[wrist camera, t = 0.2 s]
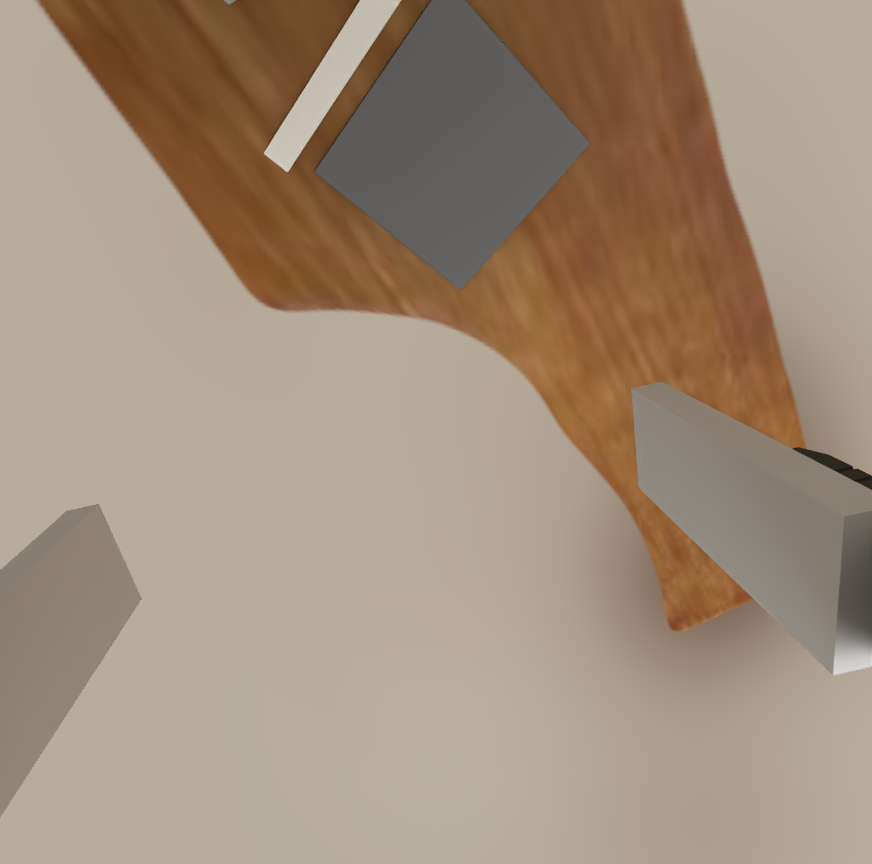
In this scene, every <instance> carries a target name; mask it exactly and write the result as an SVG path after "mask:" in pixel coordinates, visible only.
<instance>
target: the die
mask: <svg viewBox="0 0 872 864" xmlns="http://www.w3.org/2000/svg"><path fill="white" fill-rule="evenodd" d="M223 1H225V2H226V3H227V4H231V3H232V2H234V1H236V0H223Z"/></svg>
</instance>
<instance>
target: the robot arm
mask: <svg viewBox="0 0 872 864" xmlns="http://www.w3.org/2000/svg"><path fill="white" fill-rule="evenodd" d="M632 401H633V415H634V429H635V442H636V456H637V470H638V483H639V489H640V490H641V491H642V492H643V493H644V494H646V495H647V496H648V497H649V498H650V499H651V500H652V501H653V502H654V503H655V504H656V505H657V506H658V507H659V508H660V509H661V510H662V511H663V512H664V513H665V514H666V515H667V516H668V517H669V518H670V519H671V520H672V521H673V522H675V523H676V524H677V525H678V526H679V527H680V528H681V529H682V530H683V531H684V532H685V533H686V534H687V535H688V536H689V537H690V538H691V539H692V540H693V541H694V542H695V543H696V544H697V545H698V546H699V547H700V548H701V549H702V550H704V551H705V552H706V553H707V554H708V555H709V556H710V557H711V558H712V559H713V560H714V561H715V562H716V563H717V564H718V565H719V566H720V567H721V568H722V569H723V570H724V571H725V572H726V573H727V574H728V575H729V576H730V577H731V578H733V579H734V580H735V581H736V582H737V583H738V584H739V585H740V586H741V587H742V588H743V589H744V590H745V591H746V592H747V593H748V594H749V595H750V596H751V597H752V598H753V599H754V600H755V601H757V603H758V604H759V605H760V606H762V607H763V608H764V609H765V610H766V611H767V612H768V613H769V614H770V615H771V616H772V617H773V618H774V619H775V620H776V621H777V622H778V623H779V624H780V625H781V626H782V627H783V628H784V629H785V630H787V632H789V634H791V635H792V636H793V637H794V638H795V639H796V640H797V641H798V642H799V643H800V644H801V645H802V646H803V647H804V648H805V649H806V650H807V651H808V652H809V653H810V654H811V655H812V656H814V658H815V659H817V661H818V662H819V663H821V664H822V665H823V666H824V667H825V668H826V669H827V670H828V671H829V672H830V673H831V674H832V675H837V674H842V673H846V672H850V671H854V670H858V669H863V668H867V667H872V476H871V475H869V474H867V473H865V472H863V471H861V470H859V469H853V467H852V466H851V465H849V464H847V463H845V462H843V461H840V460H838V459H836V458H834V457H832V456H830V455H827V454H823V453H819V452H815V451H811V450H807V449H803V448H799V447H798V448H793V449H791V448H789V447H787V446H785V445H783V444H781V443H779V442H778V441H776V440H774V439H772V438H770V437H768V436H766V435H764V434H762V433H760V432H758V431H756V430H754V429H752V428H750V427H748V426H746V425H745V424H743V423H741V422H739V421H737V420H735V419H733V418H731V417H729V416H727V415H725V414H723V413H721V412H719V411H717V410H715V409H713V408H712V407H710V406H708V405H706V404H704V403H702V402H700V401H698V400H696V399H694V398H692V397H690V396H688V395H686V394H684V393H682V392H680V391H679V390H677V389H675V388H673V387H671V386H669V385H667V384H665V383H663V382H659V383H654V384H650V385H645V386H640V387H636V388H632ZM141 599H142V598H141V596H140V594H139V592H138V590H137V587H136V585H135V583H134V581H133V578H132V576H131V574H130V572H129V570H128V567H127V565H126V563H125V561H124V559H123V556H122V554H121V552H120V550H119V548H118V545H117V543H116V541H115V539H114V537H113V534H112V532H111V530H110V528H109V525H108V523H107V521H106V519H105V517H104V515H103V512H102V510H101V508H100V506H99V504H97V505H92V506H88V507H83V508H78V509H74V510H70V511H66V512H65V513H64V514H63V515H62V516H61V517H59V518H58V519H57V520H56V521H55V522H54V523H53V524H52V525H50V526H49V527H48V528H47V529H46V530H45V531H44V532H43V533H42V534H40V535H39V536H38V537H37V538H36V539H35V540H34V541H32V542H31V543H30V544H29V545H28V546H27V547H26V548H25V549H24V550H22V551H21V552H20V553H19V554H18V555H17V556H16V557H15V558H13V559H12V560H11V561H10V562H9V563H8V564H7V565H6V566H4V567H3V568H2V569H1V570H0V817H1V815H2V814H3V812H4V811H5V809H6V808H7V806H8V805H9V803H10V801H11V800H12V798H13V797H14V795H15V794H16V792H17V791H18V789H19V787H20V786H21V784H22V783H23V781H24V780H25V778H26V777H27V775H28V774H29V772H30V771H31V769H32V767H33V766H34V764H35V763H36V761H37V760H38V758H39V757H40V755H41V753H42V752H43V750H44V749H45V747H46V746H47V744H48V743H49V741H50V740H51V738H52V737H53V735H54V733H55V732H56V730H57V729H58V727H59V725H60V724H61V723H62V721H63V720H64V718H65V716H66V715H67V713H68V712H69V710H70V709H71V707H72V706H73V704H74V703H75V701H76V699H77V698H78V696H79V695H80V693H81V691H82V690H83V689H84V687H85V686H86V684H87V682H88V680H89V679H90V678H91V676H92V675H93V673H94V672H95V670H96V669H97V667H98V665H99V664H100V662H101V661H102V659H103V658H104V656H105V654H106V653H107V651H108V650H109V648H110V647H111V645H112V644H113V642H114V641H115V639H116V638H117V636H118V635H119V633H120V631H121V630H122V628H123V627H124V625H125V624H126V622H127V621H128V619H129V617H130V616H131V614H132V613H133V611H134V610H135V608H136V607H137V605H138V604H139V602H140V600H141Z"/></svg>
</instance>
